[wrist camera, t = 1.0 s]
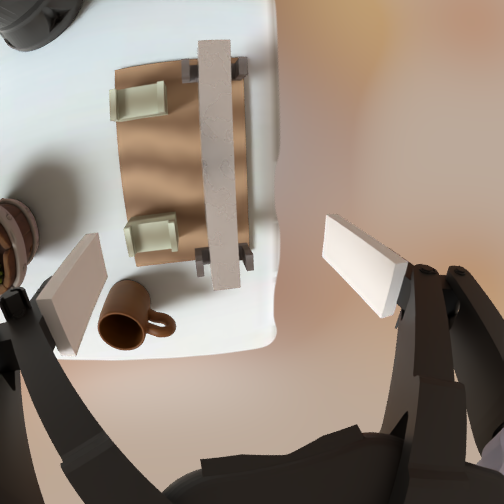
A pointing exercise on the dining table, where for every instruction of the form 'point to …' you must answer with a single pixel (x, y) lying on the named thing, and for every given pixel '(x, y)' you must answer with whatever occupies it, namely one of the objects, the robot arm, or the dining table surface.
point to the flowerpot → (16, 242)
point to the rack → (172, 162)
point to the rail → (218, 161)
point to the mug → (131, 317)
